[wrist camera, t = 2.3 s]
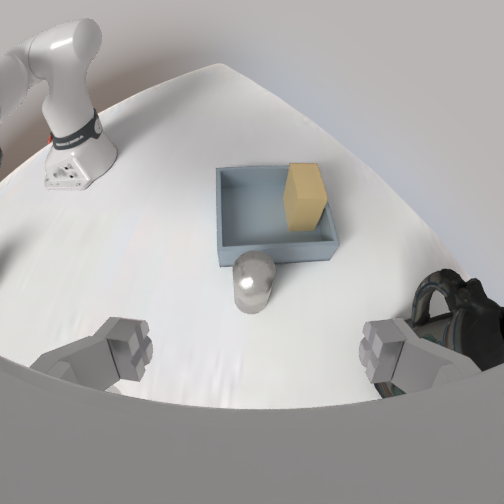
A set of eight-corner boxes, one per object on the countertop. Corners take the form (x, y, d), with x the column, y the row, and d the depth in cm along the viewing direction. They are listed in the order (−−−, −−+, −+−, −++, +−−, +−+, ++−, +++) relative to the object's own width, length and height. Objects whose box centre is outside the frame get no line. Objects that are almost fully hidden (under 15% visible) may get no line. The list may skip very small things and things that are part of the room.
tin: (235, 315, 45) (234, 292, 34) (233, 283, 48) (231, 251, 37) (269, 312, 46) (278, 289, 35) (265, 281, 48) (273, 249, 37)
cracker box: (288, 231, 52) (298, 199, 43) (282, 197, 55) (290, 163, 46) (314, 230, 52) (328, 198, 43) (306, 197, 56) (317, 163, 47)
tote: (219, 267, 49) (217, 251, 44) (217, 187, 57) (216, 168, 52) (329, 260, 50) (339, 244, 45) (311, 184, 58) (317, 166, 53)
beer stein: (413, 423, 36) (517, 425, 14) (338, 370, 41) (430, 349, 19) (449, 350, 42) (544, 312, 20) (384, 296, 47) (469, 227, 25)
